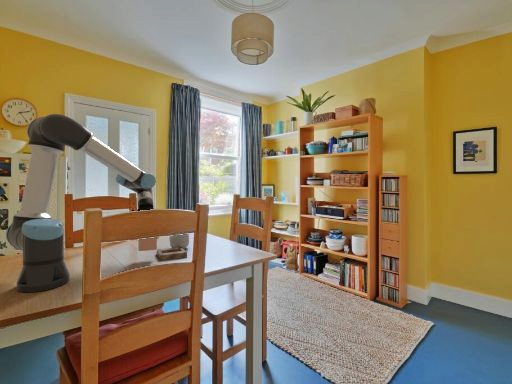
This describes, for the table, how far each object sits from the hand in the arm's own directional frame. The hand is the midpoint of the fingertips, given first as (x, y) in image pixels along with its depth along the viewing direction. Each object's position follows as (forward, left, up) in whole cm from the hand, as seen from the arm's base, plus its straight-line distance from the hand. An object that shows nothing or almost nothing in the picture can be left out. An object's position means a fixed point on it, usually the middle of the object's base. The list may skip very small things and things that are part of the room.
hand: (148, 238), depth 124 cm
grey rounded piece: (+19, +19, -11) cm, 29 cm away
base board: (+12, +5, -11) cm, 17 cm away
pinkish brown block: (0, +3, -6) cm, 7 cm away
